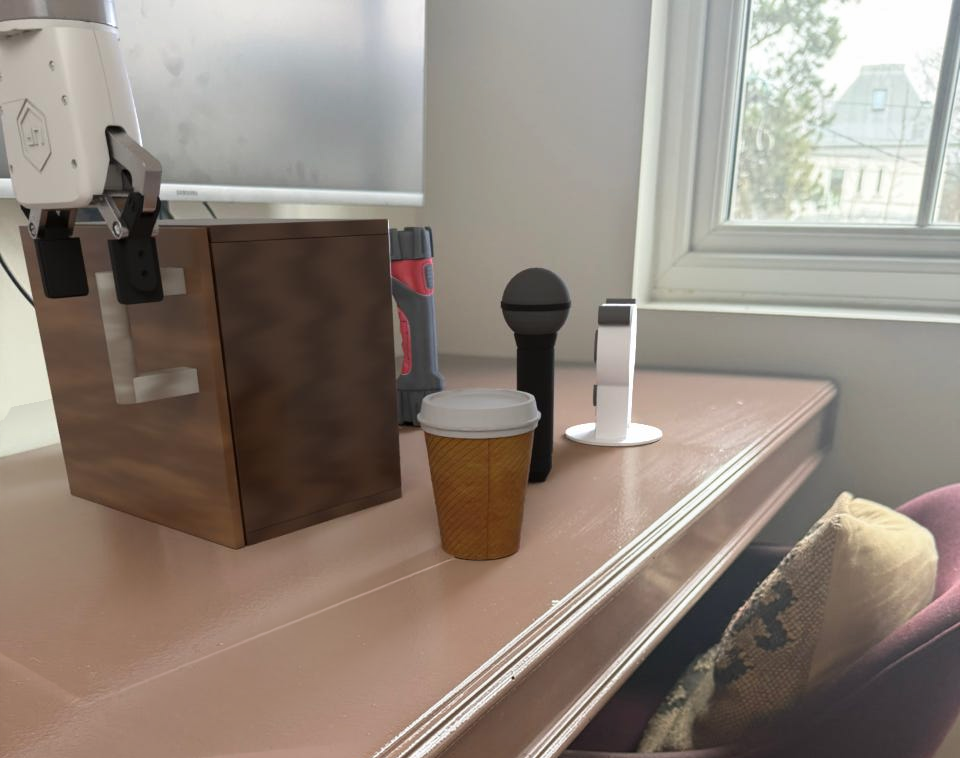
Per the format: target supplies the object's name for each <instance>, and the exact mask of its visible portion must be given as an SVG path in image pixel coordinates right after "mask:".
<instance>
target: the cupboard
mask: <svg viewBox="0 0 960 758" xmlns="http://www.w3.org/2000/svg"><path fill="white" fill-rule="evenodd" d="M156 221H157V223H158V226H159V227H205V228H207V236H208V244H209V252H210V261H211V269H212V277H213V285H214V294H215V302H216V310H217V318H218V327H219V335H220V343H221V352H222V360H223V368H224V376H225V385H226V393H227V401H228V409H229V418H230V426H231V434H232V442H233V451H234V459H235V467H236V475H237V484H238V492H239V500H240V509H241V517H242V525H243V533H244V542H245V546H246V547H251V546H254V545H257V544H260V543H262V542H266V541H270V540H272V539H276V538H279V537H282V536H285V535H289V534H292V533H295V532H298V531H302V530H304V529H307V528H311V527H314V526H317V525H321V524H323V523H326V522H329V521H333V520H336V519H340V518H342V517H345V516H349V515H352V514H355V513H358V512H362V511H364V510H367V509H370V508H371V509H372V508H374V507H377V506H380V505H384V504H386V503H390V502H393V501H396V500H399V499H402V497H403V494H402V493H403V492H402V471H401V470H402V469H401V450H400V447H401V446H400V430H399V424H398V406H397V386H396V379H397V369H396V368H397V367H396V349H395V348H396V347H395V329H394V327H395V326H394V307H393V306H394V305H393V304H394V303H393V295H392V283H391V263H390V243H389V229H390V227H389V218H177V219H175V218H173V219H157V220H156ZM75 226H108V225H107V223H106V222H105V220H104V221H75Z"/></svg>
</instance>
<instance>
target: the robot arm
mask: <svg viewBox="0 0 960 758" xmlns="http://www.w3.org/2000/svg"><path fill="white" fill-rule="evenodd" d="M120 38H121V37H120V31H119V25H118V19H117V13H116V6H115V0H0V120H1V125H2V126H1V128H2V132H3V133H2V134H3V139H4V144H5V145H4V147H5V152H6V153H5V154H6V158H7V165H8V170H9V176H10V181H11V186H12V191H13V195H14V198H15V200H16V201H17V203H18V204H19V206H20V207H19V208H20V210H21V211H22V213H23V214H24V216H25V218H26V220H27V226H28V230H29V233H30V236H31V237H32V238H33V239H34V244H35V249H36V254H37V259H38V264H39V269H40V274H41V279H42V284H43V289H44V294H45V296H46V297H47V298H50V299H58V298H69V297H80V296H87V295H88V294H89V287H88V281H87V276H86V270H85V264H84V259H83V253H82V248H81V242H80V237H72V235H73V230H74V226H75V222H77V221H76V220H77V216H78V211H79V209H81V208H83V209H97V210H98V211H99V213H100V215H101V217H102V218H103V220H104V221H105V222H106V223H107V225H108V227H109V229H110V230H111V232H112V234H113V235H114V237H115V238H116V239H109V240H107V242H108V248H109V254H110V260H111V265H112V271H113V277H114V283H115V289H116V295H117V300H118V302H119V303H120V304H124V305H131V304H141V303H151V302H160V301H162V300H163V298H164V293H163V286H162V280H161V273H160V266H159V260H158V253H157V246H156V240H155V238H156V237H157V236H158V234H159V226H158V223H157V221H156V220H158V218H159V217H158V216H159V214H160V212H161V210H162V209H161V208H162V201H161V198H160V194H161V193H160V192H161V185H162V176H163V167H162V164H161V162H160V160H159V159H157V158H156V156H154V155H153V154H152V153H151V152H149V151H148V150H146V149H145V148H144V146H143V141H142V134H141V128H140V124H139V119H138V115H137V108H136V104H135V99H134V94H133V90H132V86H131V82H130V78H129V77H130V76H129V73H128V70H127V66H126V62H125V58H124V55H123V51H122V48H121V45H120V41H121V39H120ZM121 210H122V212H121ZM58 211H59V213H58Z"/></svg>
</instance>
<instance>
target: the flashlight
mask: <svg viewBox="0 0 960 758" xmlns="http://www.w3.org/2000/svg"><path fill="white" fill-rule="evenodd" d="M389 243H390V263H391V283H392V298H393V299H394V302H395V303H396V308H397V316H398V319H399V333H400V336H401V340H402V341H401V348H402V349H401V350H402V352H403V357H402V358H403V360H402V363H401V369H400V374H399V375H398V377H396V386H397V406H398V425H401V426H402V425H404V424H405V422H406V423H412V425H413V426H414V427H421V424H420V422H419V421H418V420H417V415H418V414H419V413H420V412H421V406H422V400H423V398H425V397H426V396H427V395H430V394H433V393H437V392H442V391H446V386H445V378H444V376H443V375H442V374H441V373H440V371H439V365H438V343H437V342H438V341H437V325H436V324H437V323H436V322H437V321H436V309H435V307H436V306H435V296H434V290H435V288H434V287H435V279H434V275H435V274H434V264H433V258H435V247H434V232H433V228H432V227H431V226H405V227H404V228H403V230H398V228H397V227H393V228H389Z"/></svg>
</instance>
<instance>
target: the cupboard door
mask: <svg viewBox="0 0 960 758" xmlns="http://www.w3.org/2000/svg"><path fill="white" fill-rule="evenodd" d="M18 230H19V236H20V240H21V246H22V251H23V256H24V261H25V266H26V272H27V276H28V281H29V282H28V283H29V286H30V287H29V288H30V292H31V297H32V302H33V307H34V312H35V317H36V321H37V322H36V323H37V329H38V333H39V338H40V343H41V347H42V353H43V359H44V364H45V369H46V374H47V379H48V384H49V390H50V394H51V399H52V404H53V409H54V415H55V420H56V425H57V429H58V434H59V440H60V446H61V450H62V456H63V461H64V466H65V470H66V477H67V482H68V487H69V491H70V494H71V495H73V496H76V497H79V498H81V499H85V500H86V501H87V500H88V501H90V502H94V503H97V504H99V505H102V506H105V507H109V508H111V509H115V510H117V511H121V512H122V513H123V512H124V513H126V514H129V515H131V516H132V515H133V516H135V517H138V518H141V519H143V520H147V521H150V522H152V523H156V524H159V525H162V526H165V527H167V528H170V529H174V530H177V531H180V532H182V533H185V534H189V535H192V536H194V537H197V538H201V539H203V540H207V541H210V542H213V543H215V544H219V545H221V546H225V547H227V548H230V549H233V550H238V549H241V548H244V547H245V546H246V545H245V542H244V533H243V525H242V517H241V509H240V500H239V492H238V484H237V475H236V467H235V459H234V451H233V442H232V434H231V426H230V418H229V409H228V401H227V393H226V385H225V376H224V368H223V360H222V352H221V343H220V335H219V327H218V318H217V310H216V302H215V294H214V285H213V277H212V269H211V261H210V252H209V244H208V236H207V228H205V227H159V234H158V236H157V237H156V238H155V240H156V246H157V253H158V260H159V266H160V273H161V280H162V286H163V293H164V298H163V300H162V301H160V302H151V303H141V304H131V305H124V304H120V303H119V302H118V300H117V295H116V289H115V283H114V277H113V271H112V265H111V260H110V254H109V248H108V242H107V240H109V239H116V238H115V237H114V235H113V234H112V232H111V230H110V229H109V227H108V226H74V230H73V235H72V237H80V242H81V248H82V253H83V259H84V264H85V270H86V276H87V281H88V287H89V294H88V295H87V296H80V297H69V298H58V299H50V298H47V297H46V296H45V294H44V289H43V284H42V279H41V274H40V269H39V264H38V259H37V254H36V249H35V244H34V239H33V238H32V237H31V236H30V233H29V230H28V225H19V226H18Z"/></svg>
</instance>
